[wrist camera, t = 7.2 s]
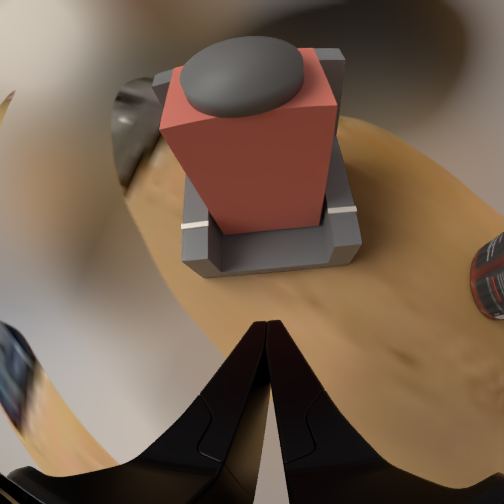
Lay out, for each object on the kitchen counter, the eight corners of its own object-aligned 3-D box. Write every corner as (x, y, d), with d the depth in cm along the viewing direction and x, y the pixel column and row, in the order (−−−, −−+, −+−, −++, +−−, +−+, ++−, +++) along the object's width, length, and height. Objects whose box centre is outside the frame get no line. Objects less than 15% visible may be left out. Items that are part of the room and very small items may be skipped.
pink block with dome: (319, 228, 17) (341, 91, 7) (224, 238, 18) (149, 118, 8) (309, 170, 19) (311, 31, 8) (223, 180, 19) (168, 52, 9)
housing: (349, 264, 18) (400, 182, 8) (202, 278, 19) (121, 213, 9) (328, 157, 20) (339, 48, 11) (204, 172, 21) (154, 74, 12)
